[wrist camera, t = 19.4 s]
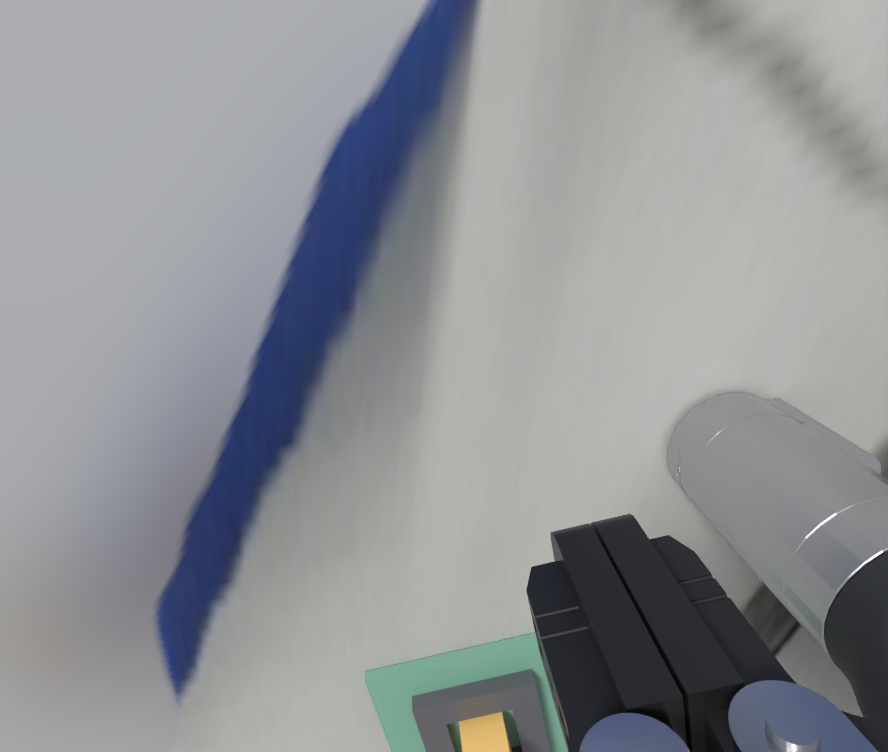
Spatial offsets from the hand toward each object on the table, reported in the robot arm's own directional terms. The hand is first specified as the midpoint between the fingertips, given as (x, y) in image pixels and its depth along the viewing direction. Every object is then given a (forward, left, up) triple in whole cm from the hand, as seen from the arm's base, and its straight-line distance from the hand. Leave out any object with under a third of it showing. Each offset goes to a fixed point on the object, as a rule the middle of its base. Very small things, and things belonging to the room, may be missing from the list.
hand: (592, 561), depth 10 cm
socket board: (+6, +42, -29) cm, 51 cm away
